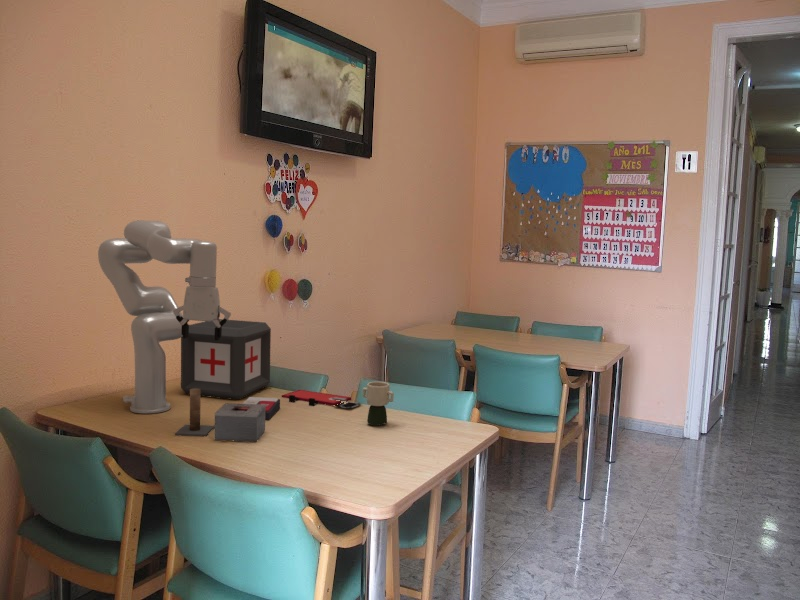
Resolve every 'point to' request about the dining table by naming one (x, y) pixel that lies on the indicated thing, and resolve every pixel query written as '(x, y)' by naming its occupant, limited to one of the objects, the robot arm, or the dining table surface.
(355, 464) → the dining table surface
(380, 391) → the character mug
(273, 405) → the calculator
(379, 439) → the dining table surface
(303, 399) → the red board with handle
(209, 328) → the first aid kit
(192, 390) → the brown cylinder
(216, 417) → the guard box
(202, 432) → the rest pad
